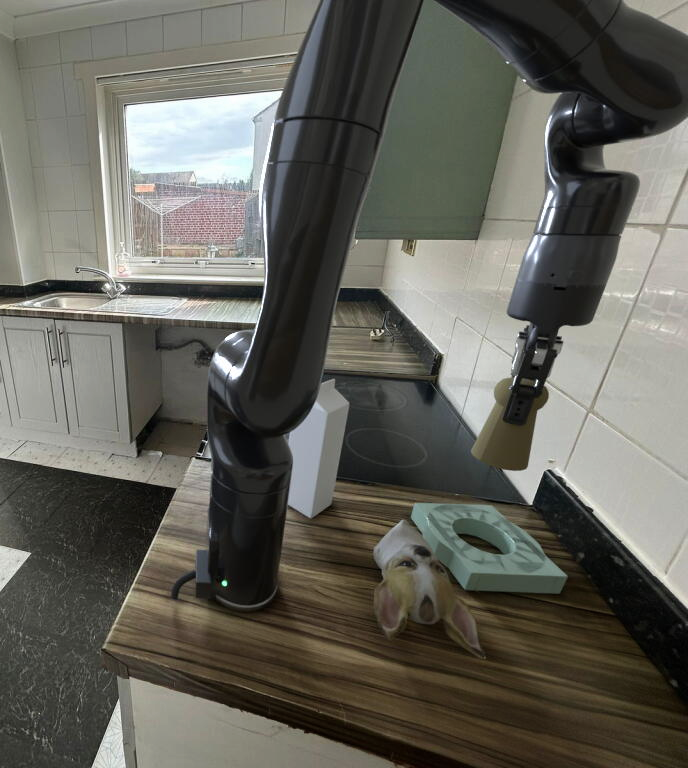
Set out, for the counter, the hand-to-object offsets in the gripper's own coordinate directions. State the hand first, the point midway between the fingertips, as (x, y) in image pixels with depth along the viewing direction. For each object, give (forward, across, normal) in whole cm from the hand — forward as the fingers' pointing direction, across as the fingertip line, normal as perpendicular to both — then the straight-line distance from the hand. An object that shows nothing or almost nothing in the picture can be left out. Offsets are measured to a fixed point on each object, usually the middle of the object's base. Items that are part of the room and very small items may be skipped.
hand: (513, 414), depth 51 cm
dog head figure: (+22, +16, -5) cm, 28 cm away
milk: (+22, +5, -23) cm, 32 cm away
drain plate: (+22, 0, +1) cm, 22 cm away
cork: (+7, 0, 0) cm, 7 cm away
